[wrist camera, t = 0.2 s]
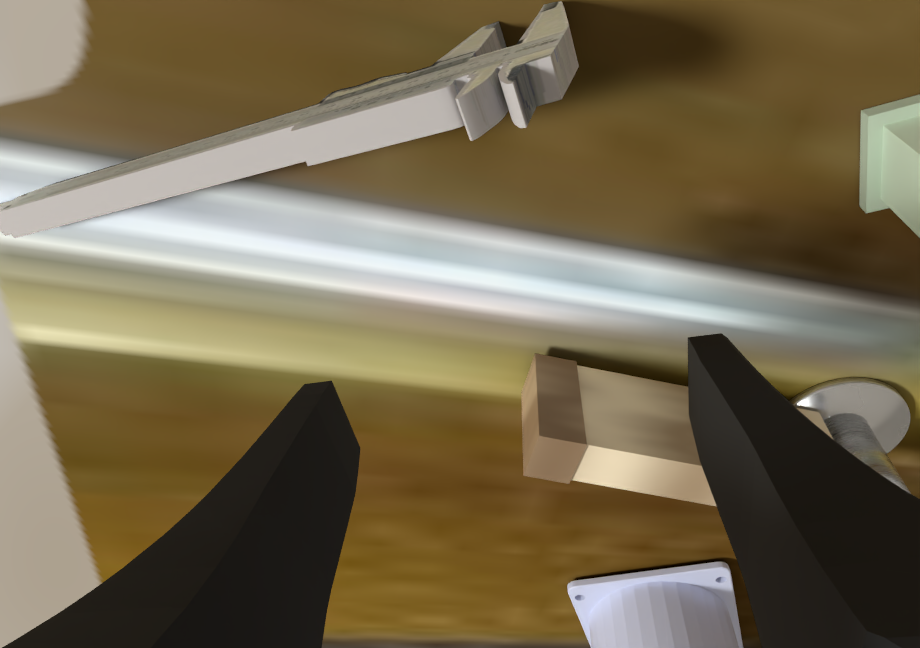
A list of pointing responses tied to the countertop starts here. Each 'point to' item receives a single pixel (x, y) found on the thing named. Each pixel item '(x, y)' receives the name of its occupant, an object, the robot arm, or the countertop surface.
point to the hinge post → (861, 419)
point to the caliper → (332, 125)
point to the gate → (612, 431)
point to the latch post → (891, 160)
